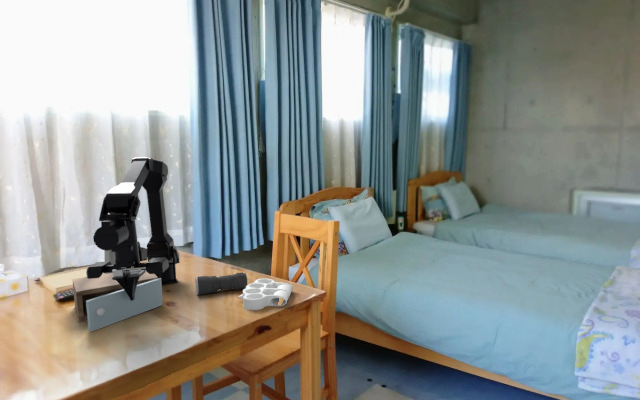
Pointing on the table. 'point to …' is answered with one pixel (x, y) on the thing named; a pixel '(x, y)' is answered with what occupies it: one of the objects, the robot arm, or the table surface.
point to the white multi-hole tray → (265, 294)
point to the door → (123, 304)
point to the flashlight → (220, 283)
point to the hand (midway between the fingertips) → (132, 300)
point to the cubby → (98, 290)
